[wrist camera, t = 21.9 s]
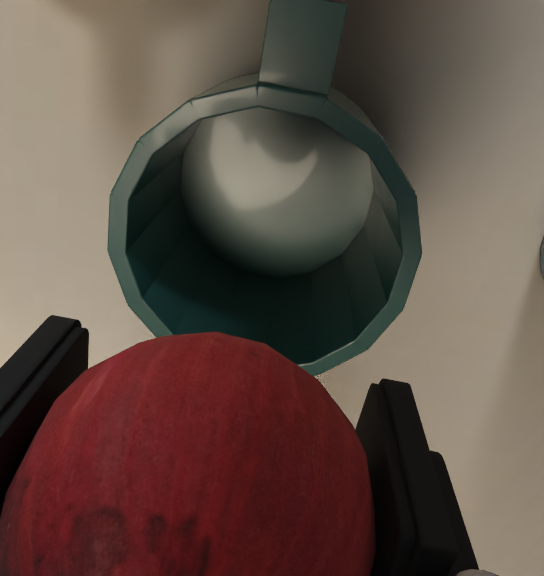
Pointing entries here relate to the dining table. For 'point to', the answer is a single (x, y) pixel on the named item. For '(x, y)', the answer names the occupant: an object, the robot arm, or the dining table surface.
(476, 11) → the dining table surface
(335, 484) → the onion
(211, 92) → the pot
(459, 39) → the dining table surface
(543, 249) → the light blue cup
